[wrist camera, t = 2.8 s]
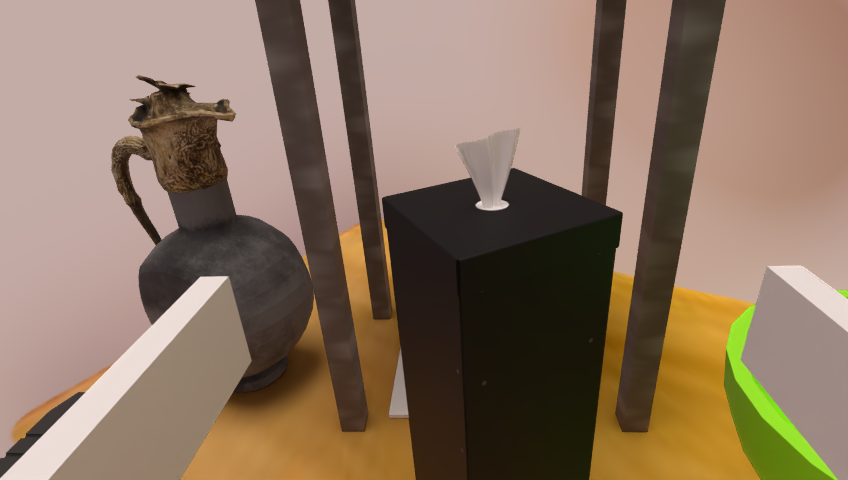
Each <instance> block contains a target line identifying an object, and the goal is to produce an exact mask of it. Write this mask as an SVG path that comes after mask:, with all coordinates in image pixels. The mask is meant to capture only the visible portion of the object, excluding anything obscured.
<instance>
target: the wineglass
mask: <svg viewBox="0 0 848 480" xmlns="http://www.w3.org/2000/svg"><path fill="white" fill-rule="evenodd" d="M836 291H837V292H839V293H840V294H841V295H843V296H844V297H846V298H847V299H848V290H836ZM755 306H756V305H753V306H751V307H749V308H748V309H747V310H746V311H745V312H744V313H743V314H742V315H741V316H740V317H739V318H738V319H737V320H736V321H735V322H734V323H733V324H732V325H731V329H730V334H729V338H728V343H727V347H726V360H725V377H724V387H725V391H726V394H727V398H728V402H729V406H730V410H731V414H732V417H733V420H734V423H735V427H736V430H737V433H738V436H739V439H740V442H741V445H742V448H743V451H744V452H745V454H746V456H747V457H748V459H749V461H750V462H751V464H752V466H753V467H754V469H755V471H756V472H757V474H758V476H759V477H760V479H761V480H838V479H837V478H836V477H835V475H834V474H833V473H832V472H831V470H830V469H829V468H828V467H827V465H826V464H825V463H824V462H823V461H822V459H821V458H820V457H819V456H818V454H817V453H816V452H815V451H814V450H813V448H812V447H811V446H810V445H809V443H808V442H807V441H806V440H805V439H804V437H803V436H802V435H801V434H800V432H799V431H798V430H797V429H796V428H795V426H794V425H793V424H792V423H791V421H790V420H789V419H788V418H787V416H786V415H785V414H784V413H783V412H782V410H781V409H780V408H779V407H778V405H777V404H776V403H775V402H774V401H773V399H772V398H771V397H770V396H769V394H768V393H767V392H766V391H765V390H764V388H763V387H762V386H761V385H760V383H759V382H758V381H757V380H756V379H755V377H754V376H753V375H752V374H751V372H750V371H749V370H748V369H747V367H746V366H745V365H744V364H743V363H742V361H741V360H740V359H741V355H742V352H743V348H744V345H745V341H746V338H747V334H748V331H749V327H750V324H751V320H752V317H753V313H754V310H755Z"/></svg>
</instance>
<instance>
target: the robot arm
mask: <svg viewBox="0 0 848 480" xmlns="http://www.w3.org/2000/svg"><path fill="white" fill-rule="evenodd" d="M740 360H741V361H742V363H743V364H744V365H745V366H746V367H747V369H748V370H749V371H750V372H751V374H752V375H753V376H754V377H755V379H756V380H757V381H758V382H759V383H760V385H761V386H762V387H763V388H764V390H765V391H766V392H767V393H768V394H769V396H770V397H771V398H772V399H773V401H774V402H775V403H776V404H777V405H778V407H779V408H780V409H781V410H782V412H783V413H784V414H785V415H786V416H787V418H788V419H789V420H790V421H791V423H792V424H793V425H794V426H795V428H796V429H797V430H798V431H799V432H800V434H801V435H802V436H803V437H804V439H805V440H806V441H807V442H808V443H809V445H810V446H811V447H812V448H813V450H814V451H815V452H816V453H817V454H818V456H819V457H820V458H821V459H822V461H823V462H824V463H825V464H826V465H827V467H828V468H829V469H830V470H831V472H832V473H833V474H834V475H835V477H836V478H837V479H838V480H848V299H847V298H846V297H844V296H843V295H841V294H840V293H839V292H837V291H836V290H834V289H833V288H832V287H830V286H829V285H828V284H826V283H825V282H824V281H822V280H821V279H819V278H818V277H817V276H815V275H814V274H813V273H811V272H810V271H809V270H807V269H806V268H804V267H803V266H767V268H766V271H765V275H764V278H763V282H762V285H761V289H760V292H759V296H758V299H757V303H756V306H755V310H754V313H753V317H752V320H751V324H750V327H749V331H748V334H747V338H746V341H745V345H744V348H743V352H742V355H741V359H740ZM251 361H252V360H251V357H250V353H249V349H248V346H247V342H246V338H245V334H244V331H243V327H242V323H241V320H240V316H239V312H238V309H237V305H236V301H235V297H234V294H233V290H232V286H231V283H230V279H229V276H215V277H200V278H199V279H198V280H197V281H196V282H195V283H194V284H193V285H192V286H191V287H190V288H189V289H188V290H187V291H186V292H185V293H184V294H183V295H182V296H181V297H180V298H179V299H178V300H177V301H176V302H175V303H174V304H173V305H172V306H171V307H170V308H169V309H168V310H167V311H166V312H165V313H164V314H163V315H162V316H161V317H160V318H159V319H158V320H157V321H156V322H155V323H154V324H153V325H152V326H151V327H150V328H149V329H148V330H147V331H146V332H145V333H144V334H143V335H142V336H141V337H140V338H139V339H138V340H137V341H136V342H135V343H134V344H133V345H132V346H131V347H130V348H129V349H128V350H127V351H126V352H125V353H124V354H123V355H122V356H121V357H120V358H119V359H118V360H117V361H116V362H115V363H114V364H113V365H112V366H111V367H110V368H109V369H108V370H107V371H106V372H105V373H104V374H103V375H102V376H101V377H100V378H99V379H98V380H97V381H96V382H95V383H94V384H93V385H92V386H91V387H90V388H89V389H88V390H87V391H86V392H78V393H77V394H75V395H74V396H72V397H70V398H69V399H67V400H66V401H64V402H63V403H61V404H60V405H58V406H57V407H55V408H54V409H52V410H51V411H49V412H48V413H47V414H46V415H45V416H44V417H43V418H42V419H41V420H40V421H39V422H38V423H37V424H36V425H35V426H34V427H32V428H31V429H30V430H29V431H28V432H27V433H26V437H25V438H21V439H20V440H19V441H18V442H17V443H16V444H15V445H14V446H13V447H12V448H11V449H10V450H9V451H8V452H7V453H6V456H5V458H1V459H0V480H180V479H181V477H182V476H183V474H184V472H185V471H186V469H187V468H188V466H189V464H190V463H191V461H192V459H193V458H194V456H195V454H196V453H197V451H198V449H199V448H200V446H201V444H202V443H203V441H204V439H205V438H206V436H207V434H208V433H209V431H210V429H211V428H212V426H213V424H214V423H215V421H216V419H217V418H218V416H219V414H220V413H221V411H222V409H223V408H224V406H225V404H226V403H227V401H228V399H229V398H230V396H231V394H232V393H233V391H234V390H235V388H236V386H237V385H238V383H239V381H240V380H241V378H242V376H243V375H244V373H245V371H246V370H247V368H248V366H249V365H250V363H251Z"/></svg>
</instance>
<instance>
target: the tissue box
mask: <svg viewBox="0 0 848 480" xmlns="http://www.w3.org/2000/svg"><path fill="white" fill-rule="evenodd" d="M519 132H520V128H518V129H515V130H508V131H501V132H497V133H494V134H491V135H490V136H489V137H488V138H486V139H483V140H478V141H472V142H465V143H461V144H458V145H456V146H455V149H456V151H457V153H458V154H459V156H460V158H461V159H462V161H463V163H464V165H465V167H466V168H467V170H468V172H469V174H470V176H471V178H468V179H463V180H458V181H454V182H449V183H445V184H441V185H436V186H431V187H427V188H422V189H418V190H413V191H409V192H404V193H400V194H396V195H391V196H386V197H383V198H382V204H383V213H384V222H385V227H386V228H387V234H388V242H389V251H390V260H391V268H392V277H393V286H394V294H395V303H396V312H397V320H398V329H399V338H400V346H401V355H402V364H403V372H404V381H405V389H406V398H407V407H408V415H409V424H410V433H411V441H412V450H413V459H414V467H415V476H416V480H589V476H590V467H591V459H592V450H593V441H594V433H595V424H596V416H597V407H598V398H599V390H600V381H601V373H602V364H603V355H604V347H605V338H606V330H607V321H608V312H609V304H610V295H611V287H612V278H613V268H614V260H615V252H616V248H618V246H619V242H620V233H621V224H622V216H623V213H622V212H620V211H618V210H615V209H613V208H610V207H608V206H606V205H603V204H601V203H598V202H596V201H593V200H591V199H589V198H586V197H584V196H581V195H578V194H576V193H574V192H571V191H569V190H567V189H564V188H562V187H559V186H557V185H554V184H552V183H549V182H547V181H544V180H542V179H540V178H537V177H535V176H532V175H530V174H527V173H525V172H522V171H520V170H518V169H515V168H512V169H511V166H512V163H513V159H514V155H515V151H516V147H517V142H518V137H519Z"/></svg>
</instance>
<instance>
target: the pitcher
mask: <svg viewBox="0 0 848 480" xmlns="http://www.w3.org/2000/svg"><path fill="white" fill-rule="evenodd" d="M136 78H138V79H139V80H143V81H145V82H147V83H149V84H151V85H153V86H155V87H157V88H158V89H160V90H159V91H158V92H155V93H153V94H151V95H150V99H149V96H147V97H146V98H142V99H130V100H131V101H136V102H140V103H142V104H144V105H141V106H139V107H137V108H136V110H135V112H134V114H133V115H131V116H130V117H129V119H128V120H129V122H130V124H131V126H133V127H134V128H138V129H140V131H141V132H142V135H143V138H140V137H136V136H128V137H124V138H122V139H120V140H119V141H118V142H117V143H116V144H115V146H114V148H113V149H112V169H111V170H112V173H113V176H114V178H115V181H116V184H117V188H118V191H119V192H120V193H121V195H122V196H123V198H124V200H125V202H126V204H127V205H128V206H129V207H130V208H131V209H132V211H133V213H134V215H135V216H136V218H137V219H138V221H139V222H140V223H141V225H142V226H143V228H144V229H145V230H146V232H147V233H148V234H149V236H150V237H151V239H152V240H153V242H154V243H155V245H156V246H155V248H154V249H153V250H152V251H151V253H150V254H149V255H148V257H147V258H146V259H145V261H144V262H143V263H142V265H141V266H140V270H139V289H140V294H141V299H142V303H143V306H144V309H145V312H146V314H147V316H148V318H149V320H150V322H151V324H152V325H153V324H154V323H155V322H156V321H157V320H158V319H159V318H160V317H161V316H162V315H163V314H164V313H165V312H166V311H167V310H168V309H169V308H170V307H171V306H172V305H173V304H174V303H175V302H176V301H177V300H178V299H179V298H180V297H181V296H182V295H183V294H184V293H185V292H186V291H187V290H188V289H189V288H190V287H191V286H192V285H193V284H194V283H195V282H196V281H197V280H198V279H199V278H200V277H215V276H229V279H230V283H231V286H232V290H233V294H234V297H235V301H236V305H237V309H238V312H239V316H240V320H241V323H242V327H243V331H244V334H245V338H246V342H247V346H248V349H249V353H250V357H251V360H252V361H251V363H250V365H249V366H248V368H247V370H246V371H245V373H244V375H243V376H242V378H241V380H240V381H239V383H238V385H237V386H236V388H235V390H234V391H233V392H238V393H240V392H249V391H255V390H258V389H261V388H263V387H266V386H268V385H269V384H271V383H272V382H274V381H275V380H277V379H278V378H279V377H280V376H281V375H282V373H283V372H284V371H285V369H286V368H287V361H288V356H287V354H288V353H289V352H290V351H291V350H292V349H293V348H294V346H295V345H296V344H297V342H298V341H299V339H300V338H301V336H302V334H303V333H304V331H305V329H306V327H307V324H308V321H309V318H310V315H311V312H312V309H313V301H314V293H313V284H312V281H311V278H310V274H309V272H308V269H307V267H306V265H305V263H304V261H303V259H302V257H301V255H300V253H299V252H298V250H297V248H296V246H295V245H294V244H293V243H292V241H291V240H290V239H289V238H288V237H287V236H286V235H285V234H283V233H282V232H281V231H279V230H277V229H276V228H274V227H273V226H271V225H269V224H267V223H265V222H263V221H262V220H260V219H257V218H253V217H250V216H242V215H236V212H235V208H234V205H233V201H232V197H231V193H230V190H229V186H228V182H227V175H228V174H227V173H228V169H227V166H226V163H225V160H224V158H223V156H222V153H221V150H220V147H221V145H220V143H219V142H218V139H217V136H216V135H217V134H216V133H217V120H218V119H219V120H225V121H233V120H234V118H235V114H236V113H235V112H234V111H233V110H231V109H230V107H229V100H228V99H227V100H224V99H222V100H220V101H219V102H218V103H196V102H194V101H193V100H192V99H191V98H190V96H189V94H190V93H189V92H187V89H186V88H188V87H195V86H192V85H188V84H172V85H171V84H167V83H165V82H163V81H154V80H153V79H151V78H147V77H142V76H139V75H138V76H137V77H136ZM131 154H136V155H139V156H141V157H142V158H144V159H146V160H152V161H153V164H154V168H155V172H156V175H157V179H158V182H159V183H160V184H161V186H162V187H163V189H164V190H166V191H167V192H168V195H169V198H170V201H171V204H172V207H173V210H174V213H175V216H176V220H177V223H178V226H179V229H177V230H176V231H174V232H172V233H170V234H169V235H167V236H166V237H165V238H164V239H163V240H161V238H160V236H159V234H158V232H157V231H156V229H155V227H154V226H153V224H152V223H151V221H150V219H149V217H148V216H147V214H146V212H145V210H144V208H143V206H142V202H141V198H140V197H139V196H138V195H137V193H136V192H135V189H134V187H133V184H132V181H131V177H130V172H129V165H128V160H129V158H130V156H131Z"/></svg>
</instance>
